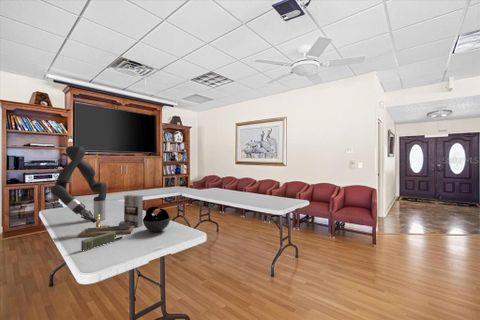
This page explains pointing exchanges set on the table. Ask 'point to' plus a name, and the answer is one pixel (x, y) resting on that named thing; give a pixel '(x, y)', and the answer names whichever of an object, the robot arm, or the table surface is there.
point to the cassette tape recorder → (133, 209)
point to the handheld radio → (98, 241)
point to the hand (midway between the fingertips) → (95, 222)
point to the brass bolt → (99, 223)
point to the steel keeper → (124, 225)
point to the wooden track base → (103, 231)
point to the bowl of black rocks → (156, 219)
